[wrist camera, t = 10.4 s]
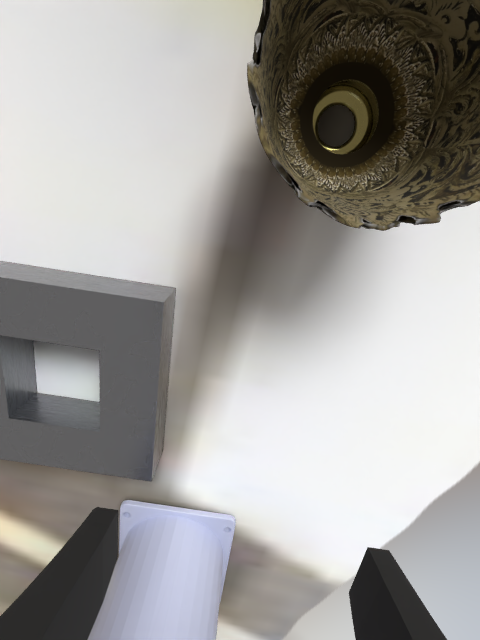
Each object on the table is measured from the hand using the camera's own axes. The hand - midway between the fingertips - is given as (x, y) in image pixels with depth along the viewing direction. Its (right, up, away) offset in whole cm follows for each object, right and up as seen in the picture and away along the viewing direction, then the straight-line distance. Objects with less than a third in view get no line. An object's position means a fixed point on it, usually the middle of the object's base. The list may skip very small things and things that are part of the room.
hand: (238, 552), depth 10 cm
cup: (+4, +15, +5) cm, 17 cm away
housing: (-10, +4, +10) cm, 14 cm away
